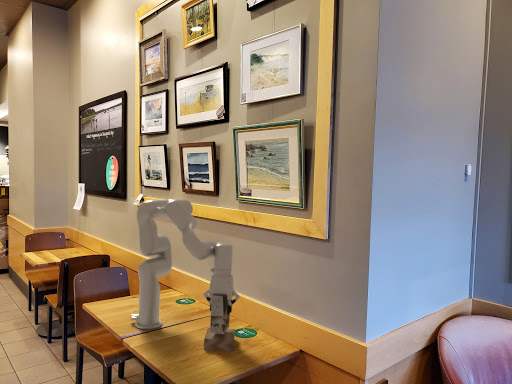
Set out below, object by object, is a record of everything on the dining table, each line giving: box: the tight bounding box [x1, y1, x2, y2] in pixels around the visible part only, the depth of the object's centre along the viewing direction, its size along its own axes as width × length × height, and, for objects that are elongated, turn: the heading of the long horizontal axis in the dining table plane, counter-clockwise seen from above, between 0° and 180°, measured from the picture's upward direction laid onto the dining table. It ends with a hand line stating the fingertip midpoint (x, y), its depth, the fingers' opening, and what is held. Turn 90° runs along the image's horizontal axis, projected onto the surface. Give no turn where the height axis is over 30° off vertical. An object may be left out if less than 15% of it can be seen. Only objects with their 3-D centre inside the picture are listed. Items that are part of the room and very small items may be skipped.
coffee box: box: [209, 294, 231, 334], centre depth 167 cm, size 9×6×16 cm
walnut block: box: [203, 327, 236, 352], centre depth 167 cm, size 12×12×5 cm
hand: (220, 312), depth 167 cm, fingers closed on coffee box, 6 cm apart
